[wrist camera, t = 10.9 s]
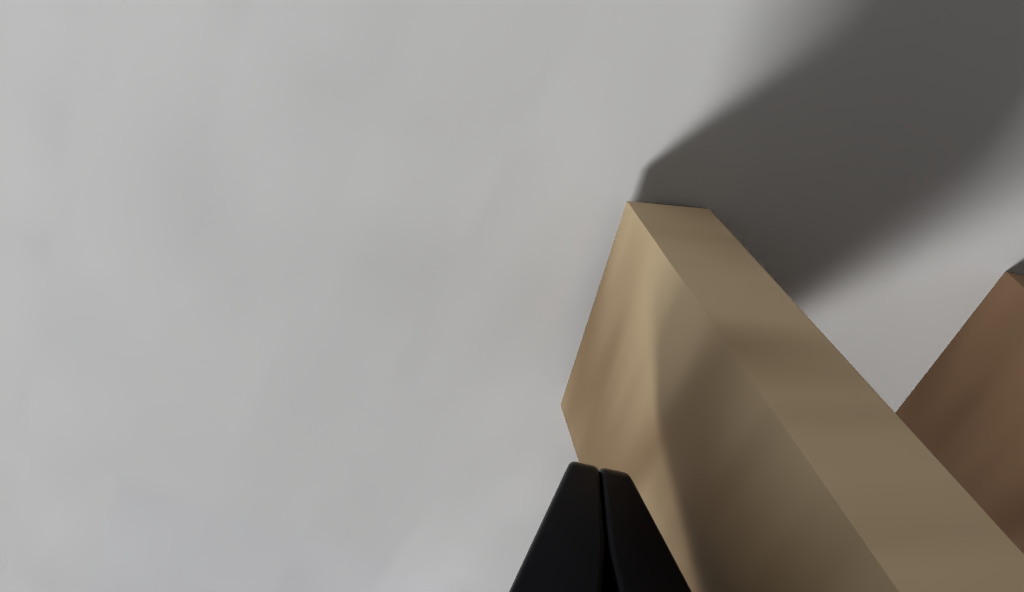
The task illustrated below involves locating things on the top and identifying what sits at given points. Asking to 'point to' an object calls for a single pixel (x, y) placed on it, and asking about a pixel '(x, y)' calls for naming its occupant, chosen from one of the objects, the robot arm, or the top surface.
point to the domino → (980, 407)
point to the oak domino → (760, 431)
